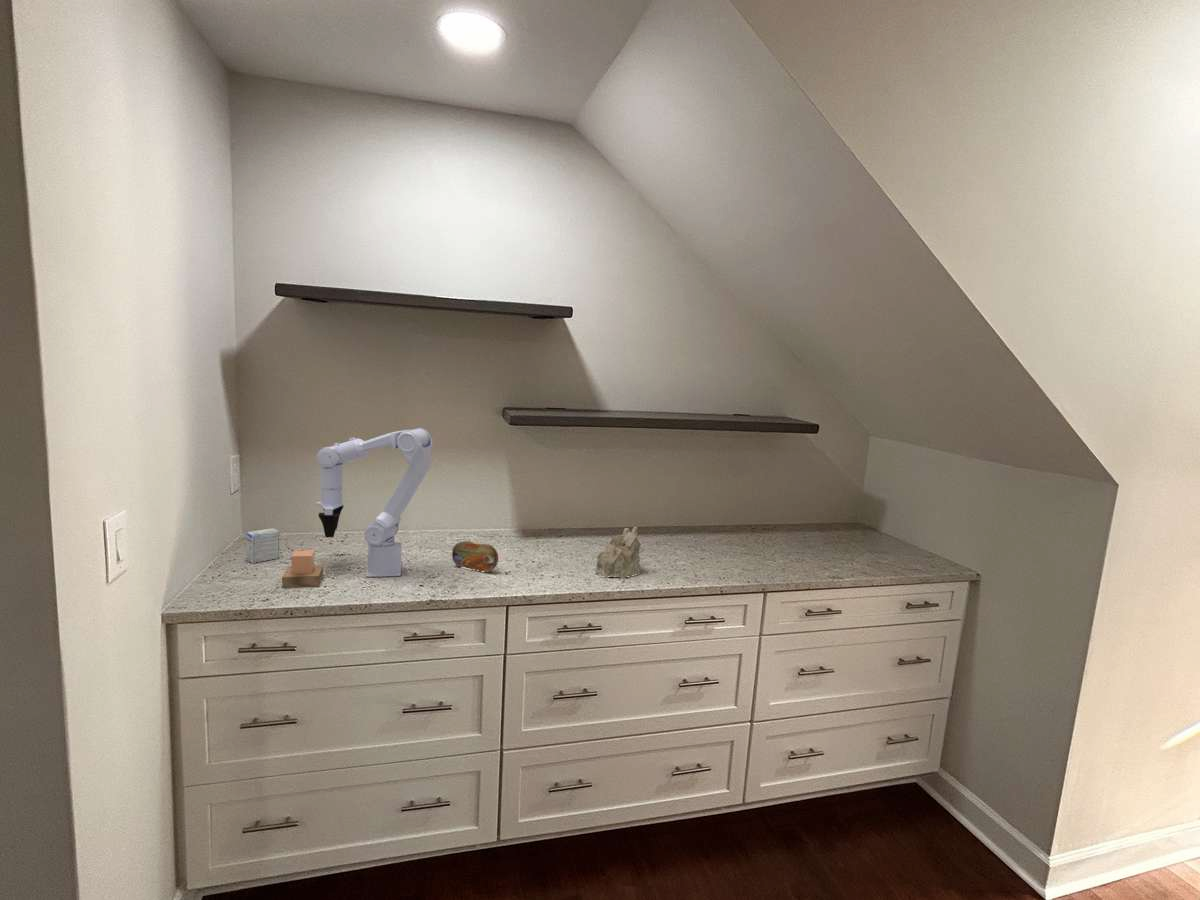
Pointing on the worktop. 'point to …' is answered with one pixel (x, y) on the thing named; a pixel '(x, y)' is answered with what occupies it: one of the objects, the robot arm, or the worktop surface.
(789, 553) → the worktop surface
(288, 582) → the walnut block
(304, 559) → the terracotta cube
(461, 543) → the tin
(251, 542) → the medicine box
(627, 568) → the ceramic cottage
